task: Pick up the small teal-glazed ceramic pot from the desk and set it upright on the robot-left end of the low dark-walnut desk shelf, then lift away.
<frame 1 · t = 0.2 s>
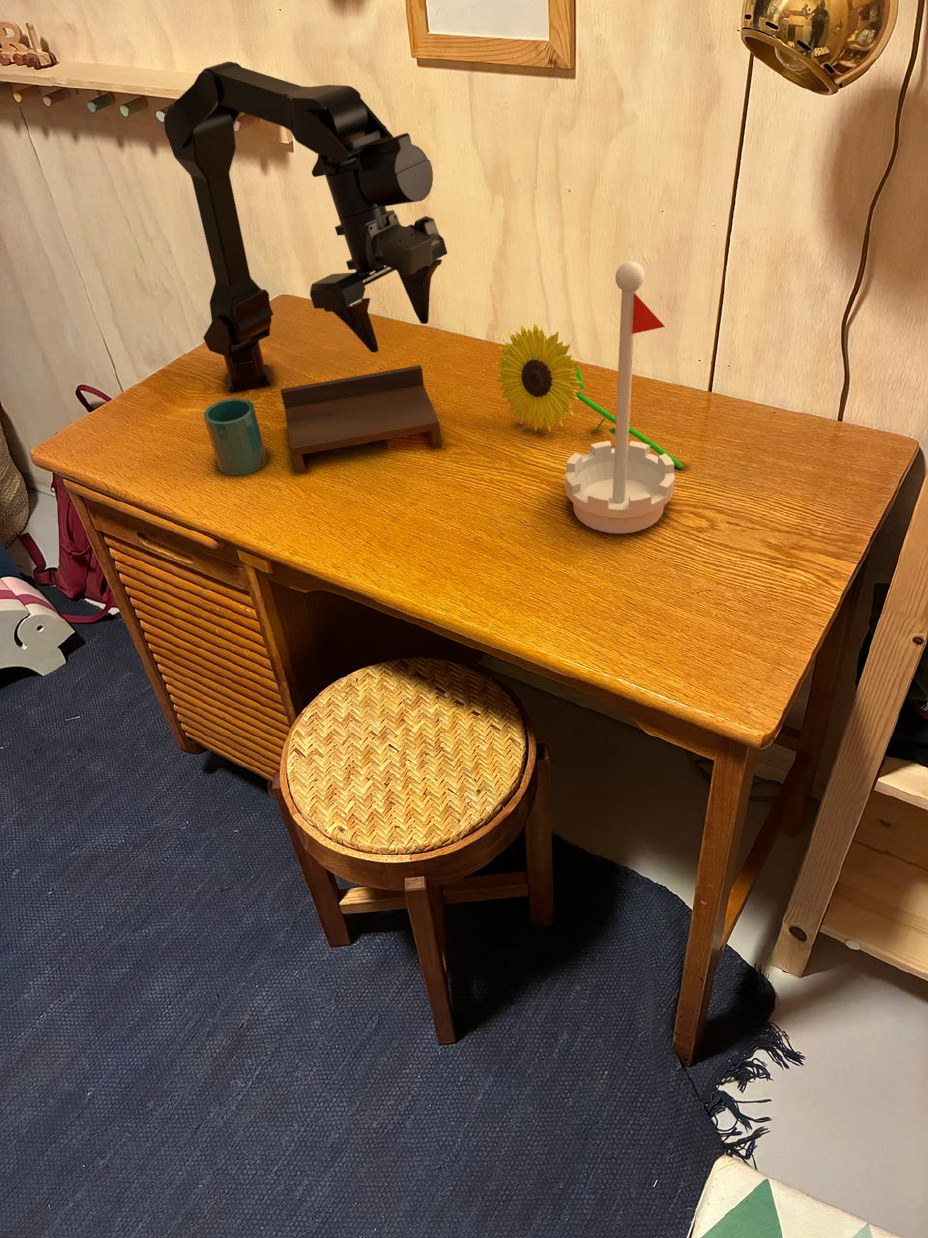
hand: (400, 337, 117), 15 cm above the table, tool pointing down, fingers open, 9 cm apart
glazed pot: (243, 462, 126), on the table
flag stand: (618, 507, 113), on the table
decorative plant: (584, 440, 124), on the table
desk shelf: (363, 438, 129), on the table
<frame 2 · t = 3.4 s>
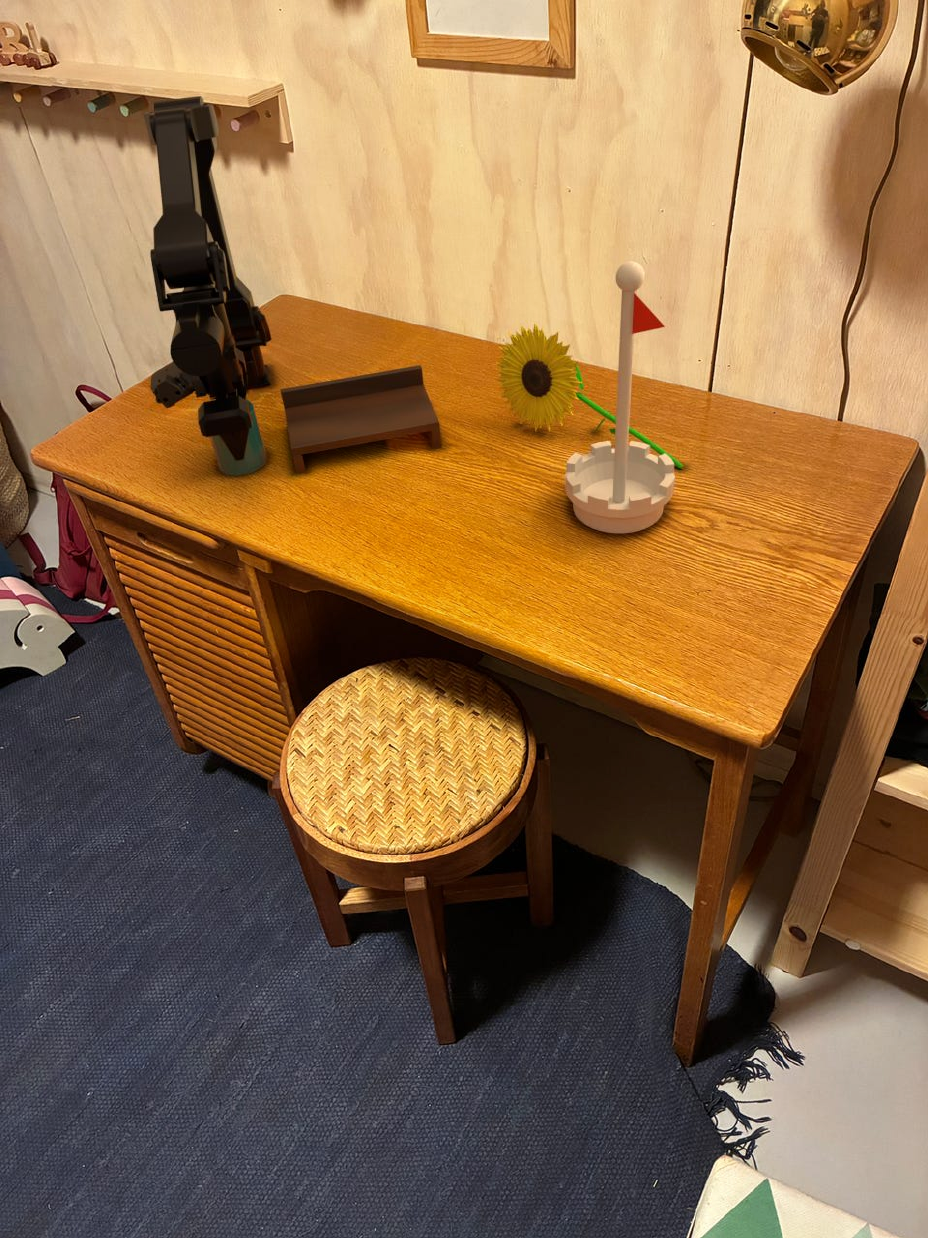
hand: (238, 446, 125), 3 cm above the table, tool pointing down, fingers closed on glazed pot, 6 cm apart
glazed pot: (243, 462, 126), on the table, touching gripper
everything else where it was.
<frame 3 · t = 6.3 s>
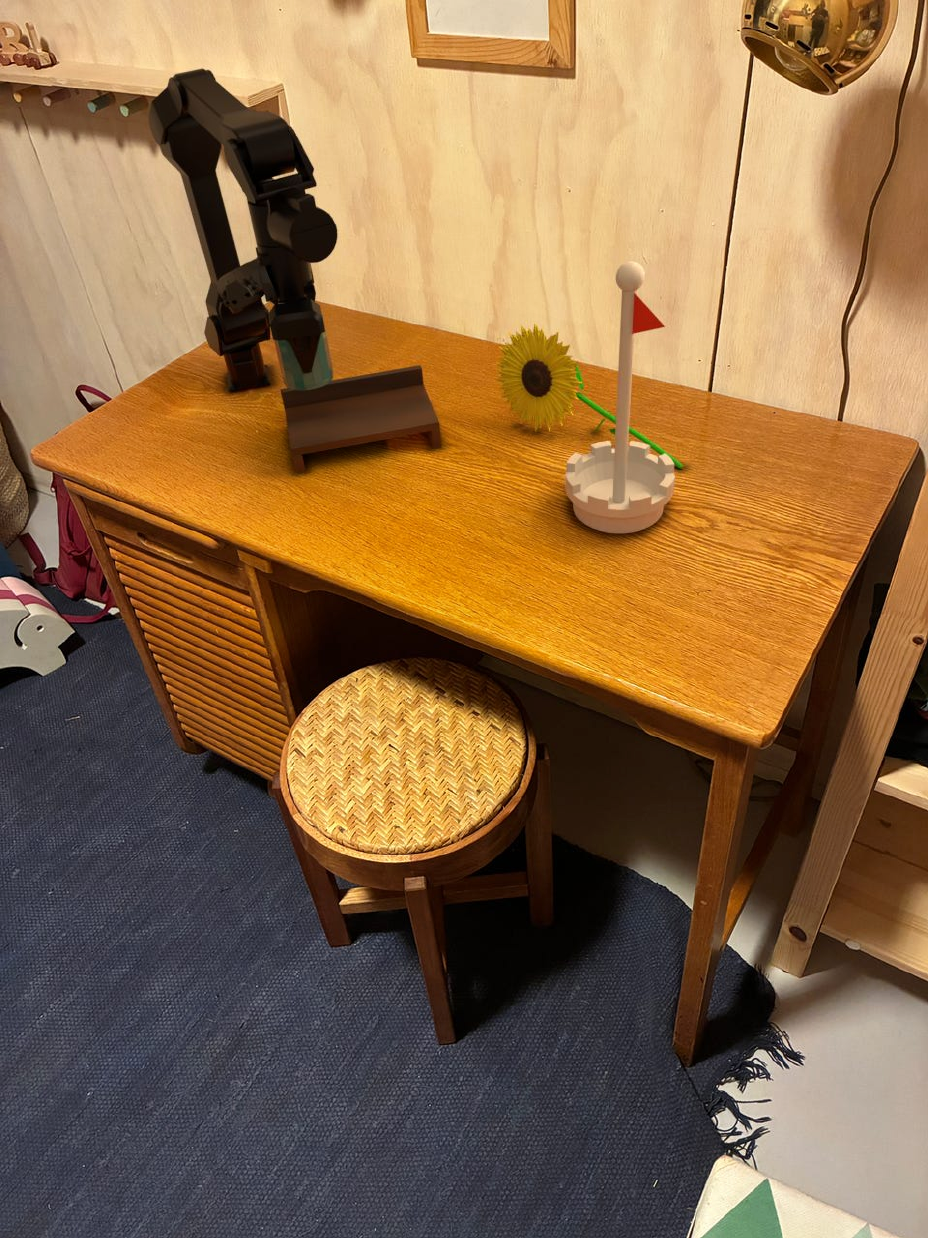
hand: (305, 360, 119), 13 cm above the table, tool pointing down, fingers closed on glazed pot, 6 cm apart
glazed pot: (308, 378, 121), point 11 cm above the table, touching gripper
everything else where it was.
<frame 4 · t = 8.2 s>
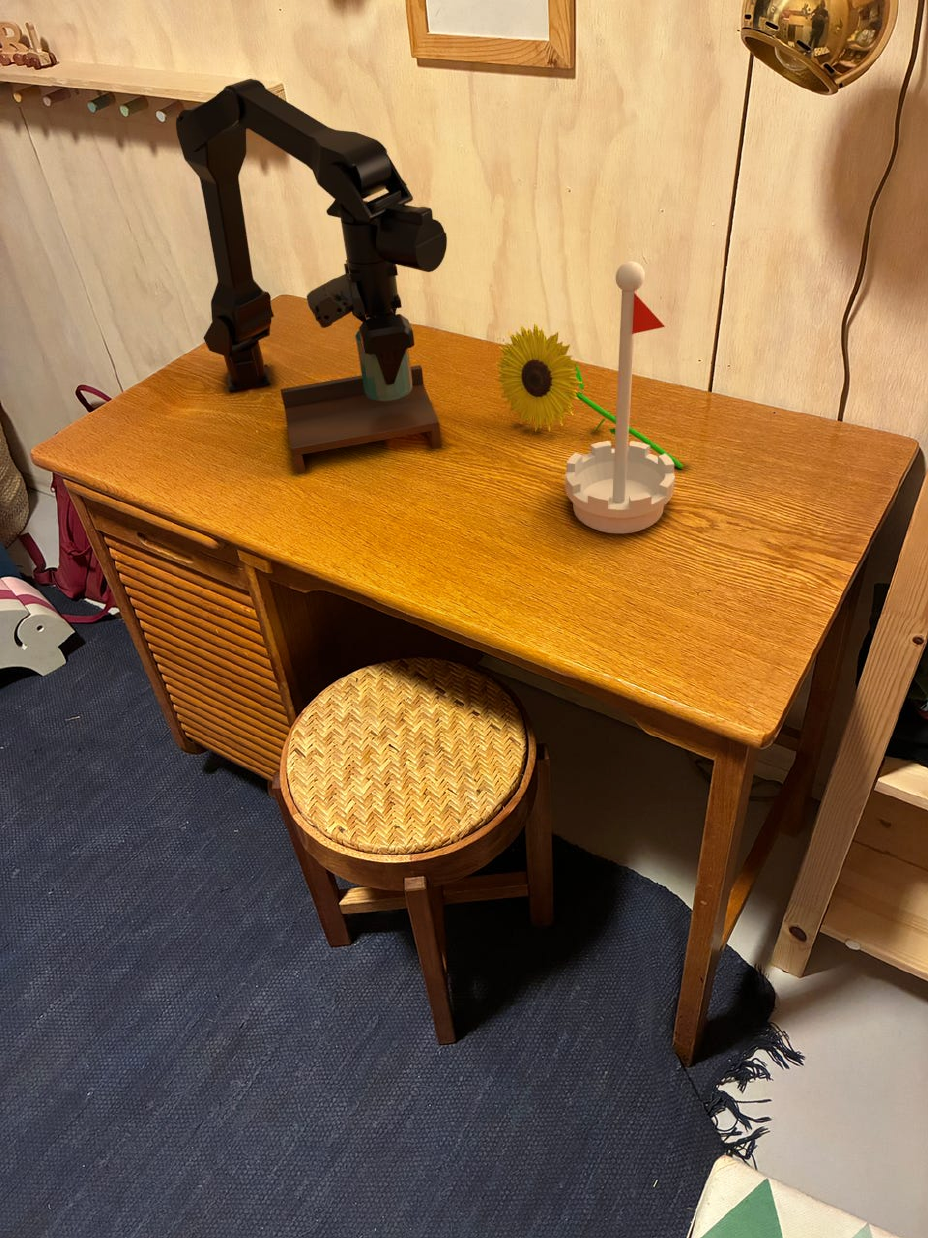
hand: (386, 371, 123), 9 cm above the table, tool pointing down, fingers closed on glazed pot, 6 cm apart
glazed pot: (388, 388, 125), point 7 cm above the table, touching gripper
everything else where it was.
when the fingers open (7 cm above the table, at t = 9.6 s): glazed pot stays where it is, resting on desk shelf.
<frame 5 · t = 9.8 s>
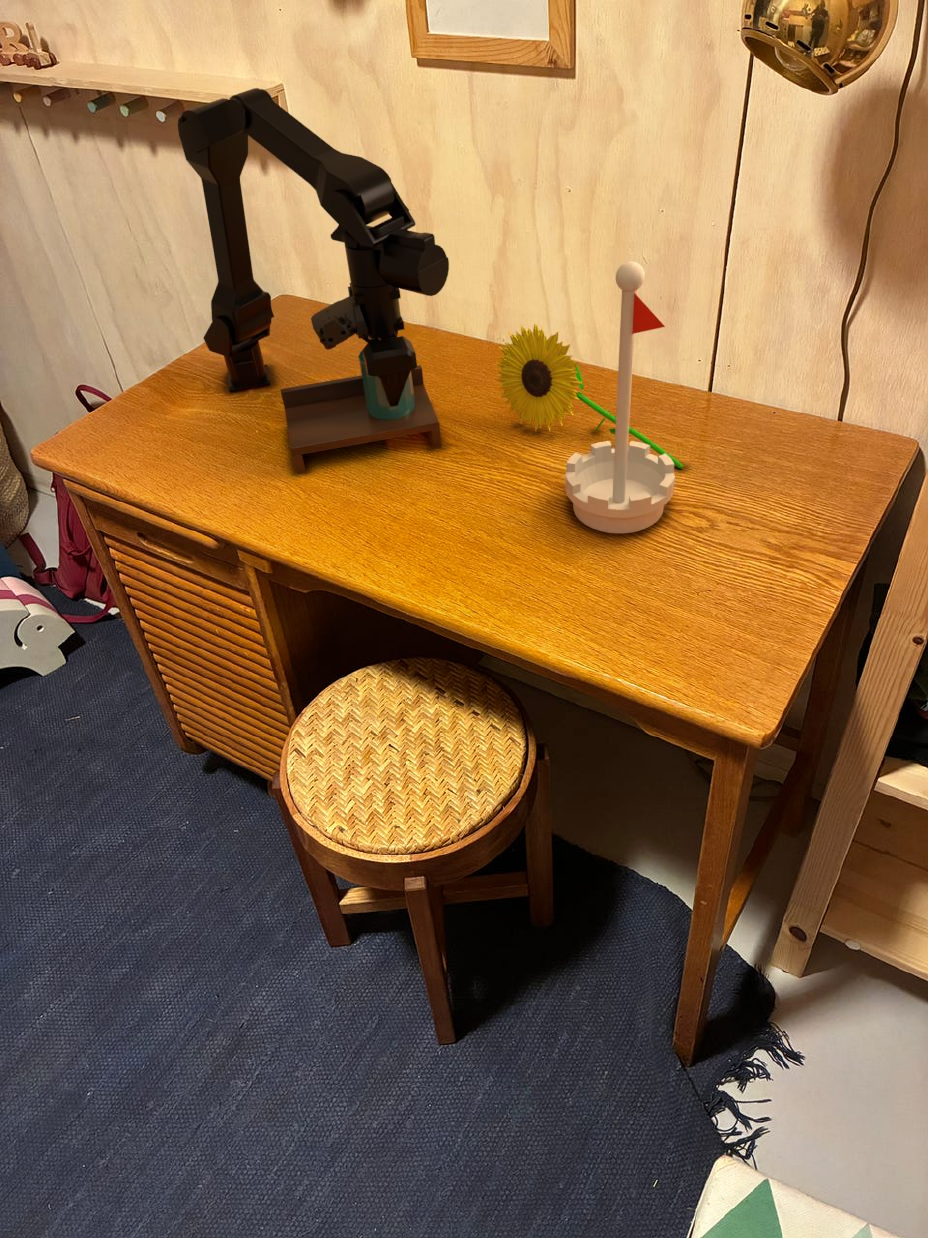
hand: (389, 391, 125), 6 cm above the table, tool pointing down, fingers open, 8 cm apart
glazed pot: (391, 407, 126), point 4 cm above the table, touching desk shelf
everything else where it was.
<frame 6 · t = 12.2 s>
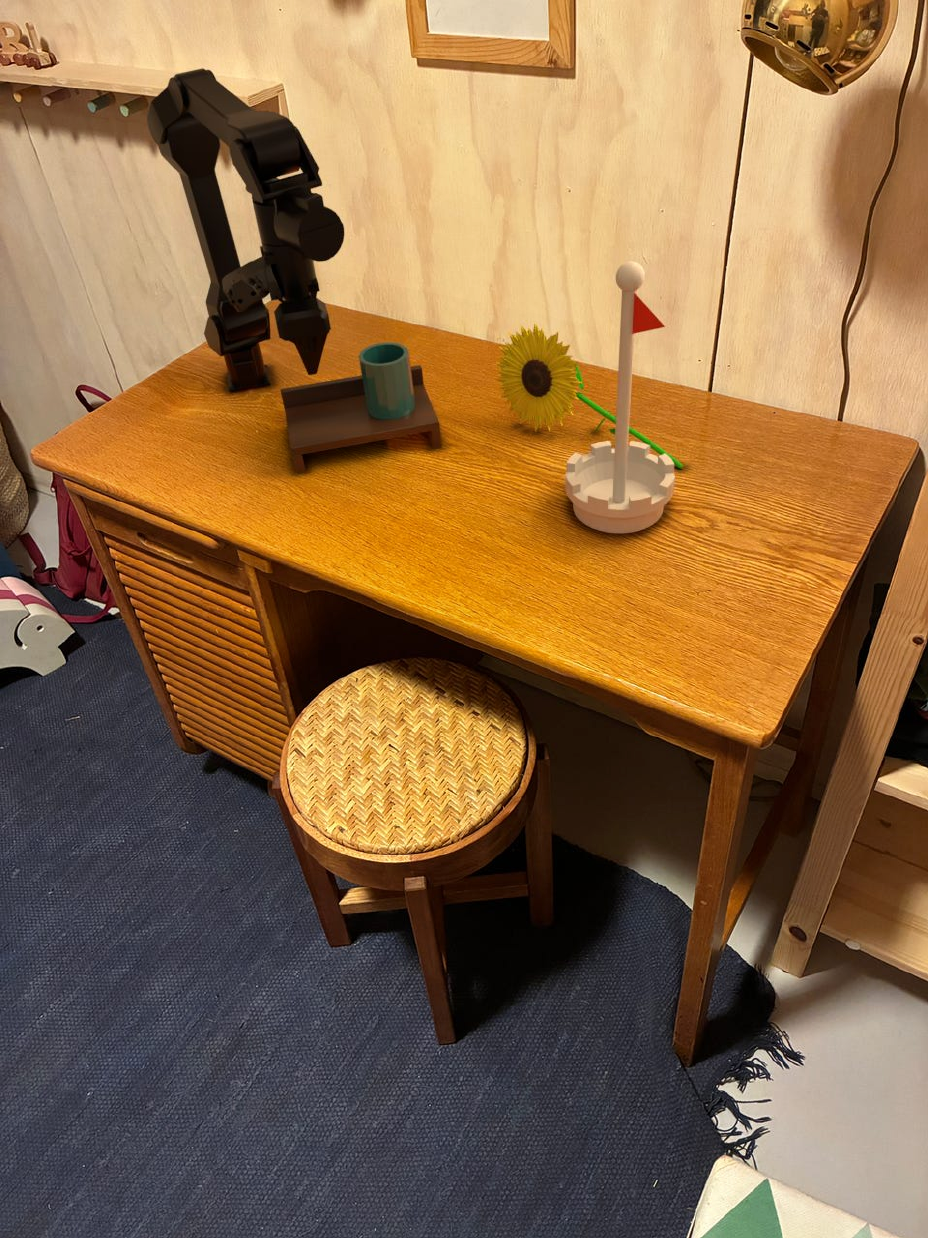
hand: (308, 357, 120), 13 cm above the table, tool pointing down, fingers open, 9 cm apart
nothing on the table moved.
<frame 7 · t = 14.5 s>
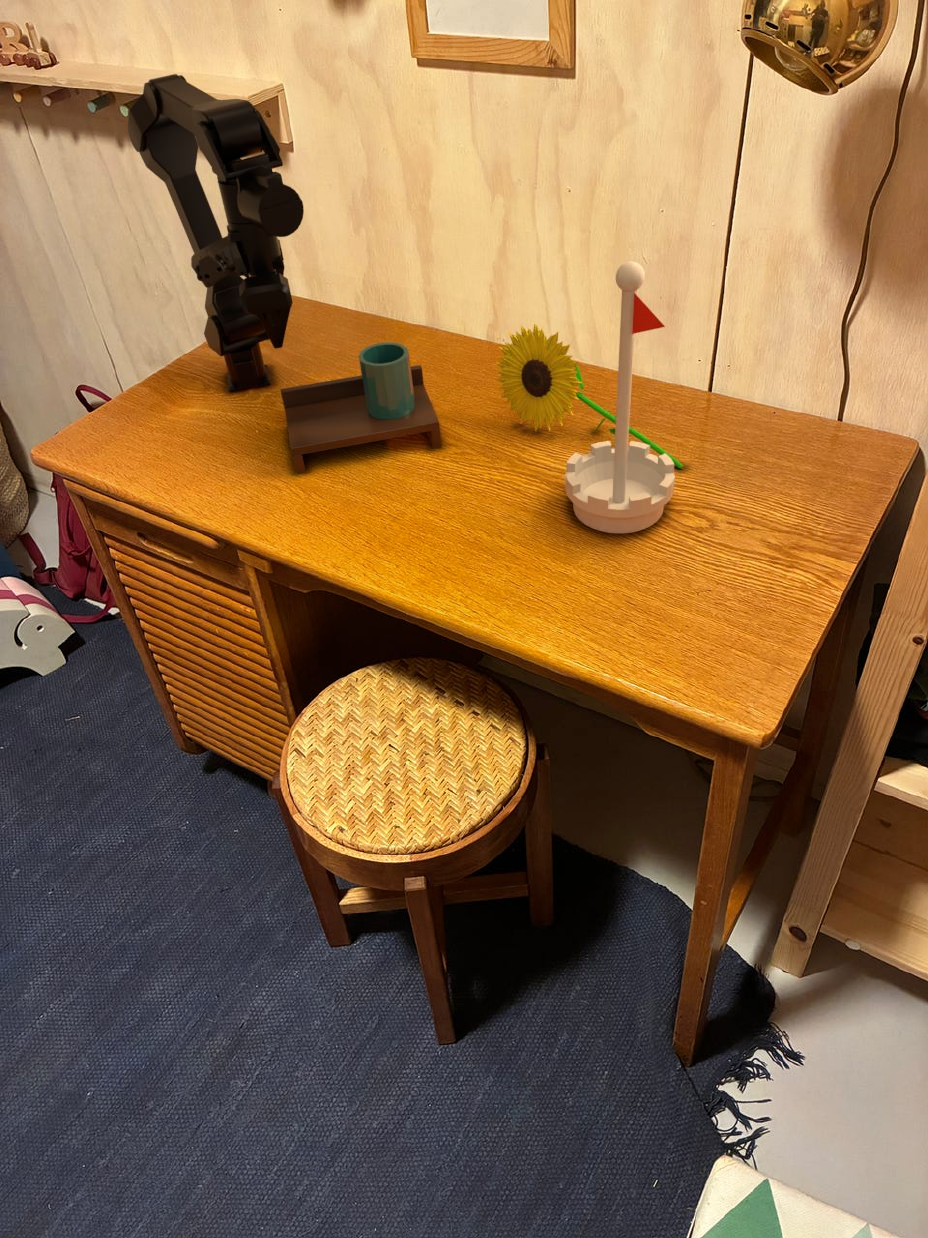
hand: (275, 333, 126), 13 cm above the table, tool pointing down, fingers open, 9 cm apart
nothing on the table moved.
at the end: glazed pot inside the target area (0.4 cm from its centre), point 4.0 cm above the table; glazed pot tilted 0°; the gripper is holding nothing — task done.
